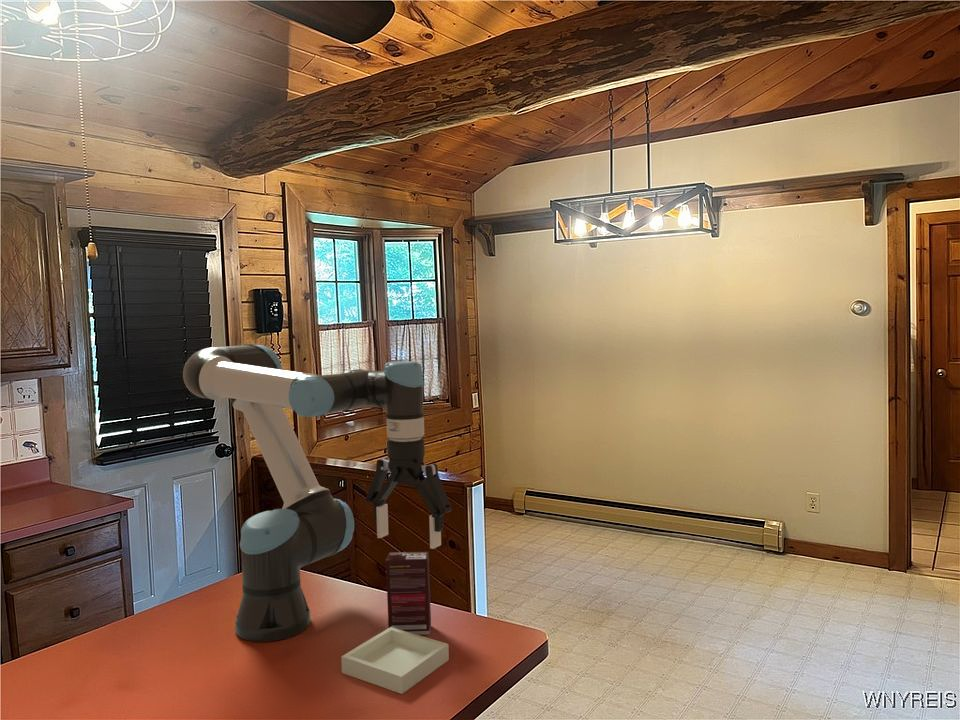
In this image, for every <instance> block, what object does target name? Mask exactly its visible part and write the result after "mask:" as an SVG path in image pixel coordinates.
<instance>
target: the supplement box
mask: <svg viewBox="0 0 960 720" xmlns="http://www.w3.org/2000/svg"><path fill="white" fill-rule="evenodd" d="M429 553H430V552H429V551H410V552H409V551H404V552H403V551H402V552H401V551H400V552H388V555H387V556H386V559H385V569H386V571H385V573H386V595H387V597H386V598H387V599H386V600H387V622H388V623H387V625H388V626H387V627H388V628H390V627H392V628H396V629H399V630H403V631H406V632H409V633H413V634H416V635H420V636H423V635H426V636H427V635H430V634H431V628H432V614H431V613H432V612H431V610H432V609H431V583H430V582H431V581H430V578H431V577H430V555H429ZM388 628H387V629H388Z"/></svg>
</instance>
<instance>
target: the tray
mask: <svg viewBox="0 0 960 720" xmlns="http://www.w3.org/2000/svg"><path fill="white" fill-rule="evenodd" d="M449 649H450V648H449V643H448V642H447V643H446V642H443V641H439V640H436V639H432V638H430V637H427V636H423V635H416V634H413V633H409V632H406V631H403V630H399V629H396V628H392V627H390V628H386V629H385V630H383V631H382V632H380V633H378V634H377V635H375V636H373V637H371V638H370V639H368V640H366V641H365V642H363V643H361V644H360V645H358V646H357V647H355V648H353V649H351V650H350V651H348V652H346V653H345V654H343V655H341V656H340V657H341V661H340V662H341V673H342V674H344V675H347V676H349V677H353V678H355V679H359V680H361V681H363V682H366V683H367V682H368V683H370V684H372V685H374V686H375V685H376V686H377V687H381V688H384V689H387V690H390V691H391V692H394V693H395V692H396V693H399V694H401V695H403V694H405V692H407V691H408V690H410V689H411V688H413V687H414V686H415V685H416V684H418V683H419V682H420V681H422V680H423V679H425V678H426V677H428V676H429V675H430V674H431V673H433V672H434V671H436V670H437V669H438V668H440V667H441V666H442V665H444V664H445V663H447V662H448V661H449V659H450V658H449V656H450V654H449Z"/></svg>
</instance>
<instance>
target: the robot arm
mask: <svg viewBox="0 0 960 720" xmlns="http://www.w3.org/2000/svg"><path fill="white" fill-rule="evenodd" d="M423 378H424V377H423V367H422V364H421V363H420V362H418V361H413V360H409V361H408V360H407V361H406V360H405V361H404V360H401V361H398V360H397V361H389V362H386V363H385V364H384V370H370V369H368V370H367V369H363V368H361V369H348V370H346V371H344V372H341V373H334V374H316V373H315V374H314V373H306V372H302V371H300V372H299V371H294V370H286V369H283V367H282V362H281V361H280V359H279V357H278V355H277V354H276V352H275V351H273V350H272V349H271V348H270V347H268V346H267V345H263V344H251V343H248V344H242V345H230V346H228V345H227V346H215V347H214V346H212V347H205V348H202V349H200V350H198V351H195V352H194V353H193V354H191V356H190V357H189V358H188V359H187V360H186V362H185V363H184V366H183V370H182V379H183V382H184V384H185V385H184V386H186V388H187V389H188V391H190V393H192V394H193V395H195V396H196V397H199V398H202V399H208V400H214V401H220V400H223V399H226V398H227V399H229V400H230V403H231V405H232V407H233V409H235V410H237V411H239V412H242V413H243V415H244V417H245V420H246V421H247V422H246V423H247V424H248V426H249V429H250V430H251V433H252V435H253V437H254V439H255V441H256V444H257V447H258V448H259V450H260V453H261V455H262V457H263V459H264V462H265V463H266V466H267V468H268V470H269V473H270V475H271V477H272V479H273V481H274V483H275V486H276V489H277V490H278V492H279V495H280V497H281V499H282V501H283V506H282V508H274V509H273V510H266V511H262V512H259V513H257V514H254V515H252V516H251V517H249V518H248V519H246V521H245V522H244V523H243V524H242V527H241V529H240V541H239V548H240V551H241V552H240V553H241V555H240V556H241V575H242V577H241V578H242V595H241V600H240V604H239V608H238V612H237V614H236V617H235V619H234V626H235V628H234V629H235V634H236V635H237V636H238V637H239V638H241V639H243V640H246V641H248V642H249V641H250V642H260V643H261V642H262V643H263V642H274V641H275V642H276V641H280V640H285V639H288V638H291V637H294V636H296V635H298V634H300V633H302V632H303V631H305V630H307V628H308V627H309V626H310V624H311V610H310V608H309V606H308V602H307V599H306V597H305V594H304V592H303V589H302V586H301V568H303V567H306V566H309V565H311V564H313V563H315V562H318V561H320V560H323V559H324V558H327V557H332V556H335V555H336V554H337V553H339V552H340V551H343V550H344V549H345V548H347V547H348V546H349V545H350V543H351V541H352V539H353V535H354V534H353V533H354V532H355V518H354V515H353V512H352V509H351V508H350V506H349V505H348V504H347V503H346V501H343V500H341V499H338V498H334V497H333V495H332V493H331V491H330V489H329V488H326V487H324V486H321V485H320V484H319V482H318V480H317V478H316V476H315V473H314V470H313V469H312V467H311V465H310V462H309V459H307V456H306V454H305V451H304V449H303V447H302V446H301V443H300V441H299V439H298V436H297V434H296V432H295V430H294V429H293V427H292V424H291V421H290V420H289V418H288V415H287V413H286V411H285V409H288V410H289V409H290V410H292V411H293V412H295V413H296V414H297V416H300V417H304V418H310V417H313V418H314V417H315V418H316V417H318V418H319V417H322V416H324V415H328V414H334V413H339V412H345V411H351V410H355V409H361V408H369V407H370V408H372V407H373V408H385V416H386V417H385V418H386V419H385V420H386V437H387V438H388V440H387V441H386V447H387V448H386V449H387V450H386V452H387V453H386V454H387V457H384V458H380V459H377V460H376V469H375V472H374V475H373V478H372V481H371V483H370V485H369V489H368V491H367V493H366V497H365V501H366V502H367V503H368V502H369V503H371V504H372V505H373V513H374V520H375V521H376V536H377V537H376V538H377V539H381V538H384V537H386V536H389V511H388V509H389V507H388V503H386V500H387V499H388V497H390V494H391V493H392V492H393V490H394V489H395V488H396V486H397V485H403V484H404V485H407V486H412V487H413V489H415V490H416V491H417V492H418V494H419V496H421V498H422V500H423V502H424V504H425V505H426V507H427V508H428V509H429V511H430V512H431V515H428V516H429V517H428V519H429V549H431V550H434V549H437V548H438V547H440V546H441V545H442V531H444V515H445V514H447V513H450V512H451V511H452V510H453V507H452V504H451V502H450V500H449V496H448V495H447V492H446V490H445V488H444V485H443V482H442V480H441V478H440V476H439V469H438V464H436V463H432V464H425V462H424V457H425V454H426V451H425V450H426V449H425V439H424V438H423V436H425V420H424V419H425V416H424V384H425V382H424V379H423ZM284 408H285V409H284ZM388 471H390V474H389V476H388V477H387V479H385V478H386V476H387V475H388ZM385 480H386V482H385ZM384 482H385V483H384Z"/></svg>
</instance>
